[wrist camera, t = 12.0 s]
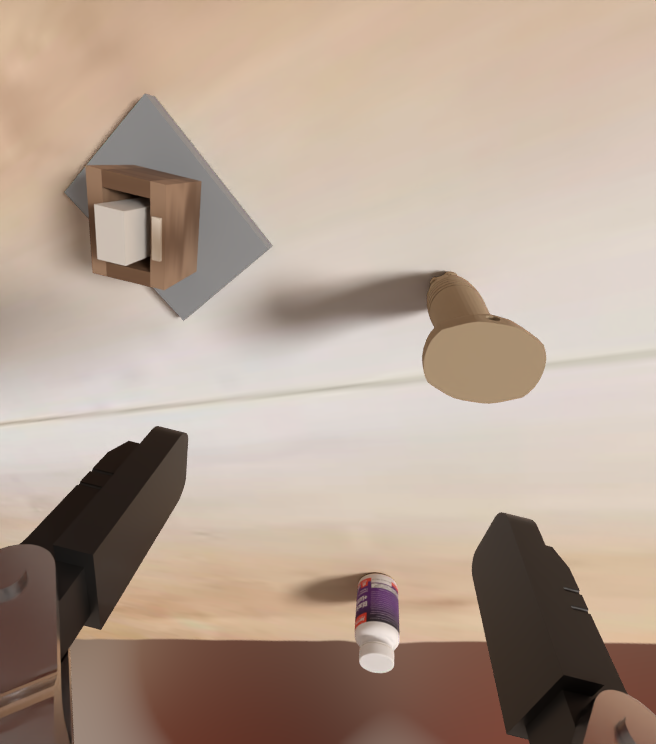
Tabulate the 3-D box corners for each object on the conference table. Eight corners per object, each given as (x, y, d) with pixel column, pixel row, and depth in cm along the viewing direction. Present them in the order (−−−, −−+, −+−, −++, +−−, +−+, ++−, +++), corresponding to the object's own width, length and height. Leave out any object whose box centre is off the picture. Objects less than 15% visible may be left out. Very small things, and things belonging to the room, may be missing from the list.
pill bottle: (360, 568, 54) (356, 646, 45) (401, 575, 53) (404, 655, 45) (355, 594, 56) (350, 671, 48) (393, 600, 56) (395, 680, 47)
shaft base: (154, 96, 31) (71, 72, 23) (272, 245, 36) (238, 271, 27) (76, 191, 35) (-19, 200, 27) (190, 315, 40) (138, 356, 31)
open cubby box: (133, 164, 32) (82, 165, 27) (201, 181, 32) (164, 185, 27) (135, 256, 36) (90, 273, 30) (196, 271, 36) (162, 291, 30)
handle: (474, 320, 36) (527, 410, 23) (403, 309, 37) (415, 392, 24) (491, 266, 34) (559, 332, 21) (415, 255, 34) (435, 314, 21)
